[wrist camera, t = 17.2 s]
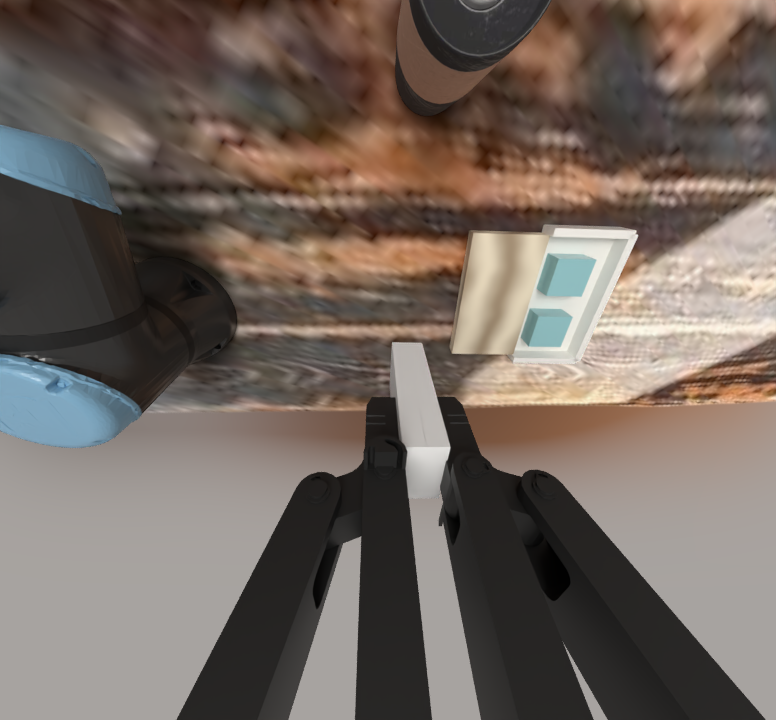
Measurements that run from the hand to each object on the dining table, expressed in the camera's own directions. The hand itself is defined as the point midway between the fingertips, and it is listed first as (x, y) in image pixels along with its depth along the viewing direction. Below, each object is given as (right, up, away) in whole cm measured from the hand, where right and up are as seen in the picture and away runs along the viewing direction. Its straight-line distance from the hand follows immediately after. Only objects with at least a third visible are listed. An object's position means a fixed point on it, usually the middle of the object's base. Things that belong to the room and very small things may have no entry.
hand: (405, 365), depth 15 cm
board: (+15, +10, +29) cm, 34 cm away
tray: (+25, +10, +29) cm, 39 cm away
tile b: (+23, +6, +31) cm, 39 cm away
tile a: (+23, +13, +26) cm, 37 cm away
